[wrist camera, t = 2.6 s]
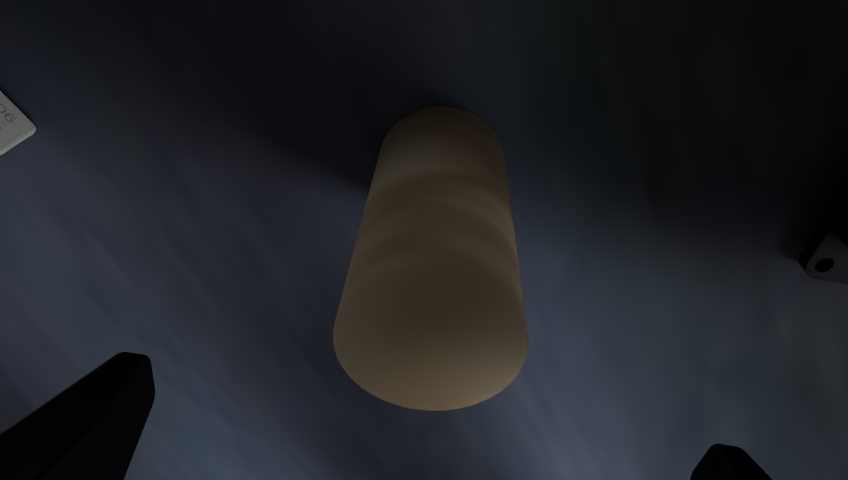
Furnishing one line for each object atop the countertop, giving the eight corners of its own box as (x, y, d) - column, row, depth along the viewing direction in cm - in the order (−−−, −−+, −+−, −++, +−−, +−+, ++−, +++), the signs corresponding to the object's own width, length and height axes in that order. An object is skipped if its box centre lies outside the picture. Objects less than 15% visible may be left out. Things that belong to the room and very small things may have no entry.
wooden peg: (518, 118, 15) (552, 287, 10) (489, 227, 17) (502, 422, 12) (386, 95, 15) (340, 252, 10) (372, 208, 17) (327, 396, 12)
